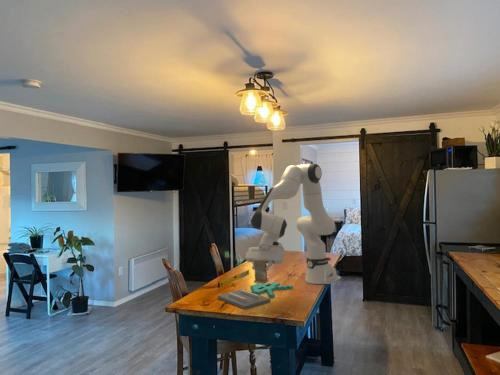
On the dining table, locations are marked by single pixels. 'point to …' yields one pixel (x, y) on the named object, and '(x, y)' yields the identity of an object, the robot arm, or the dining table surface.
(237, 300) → the plate
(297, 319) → the dining table surface
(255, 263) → the grey brown upright block
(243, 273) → the spirit level
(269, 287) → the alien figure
